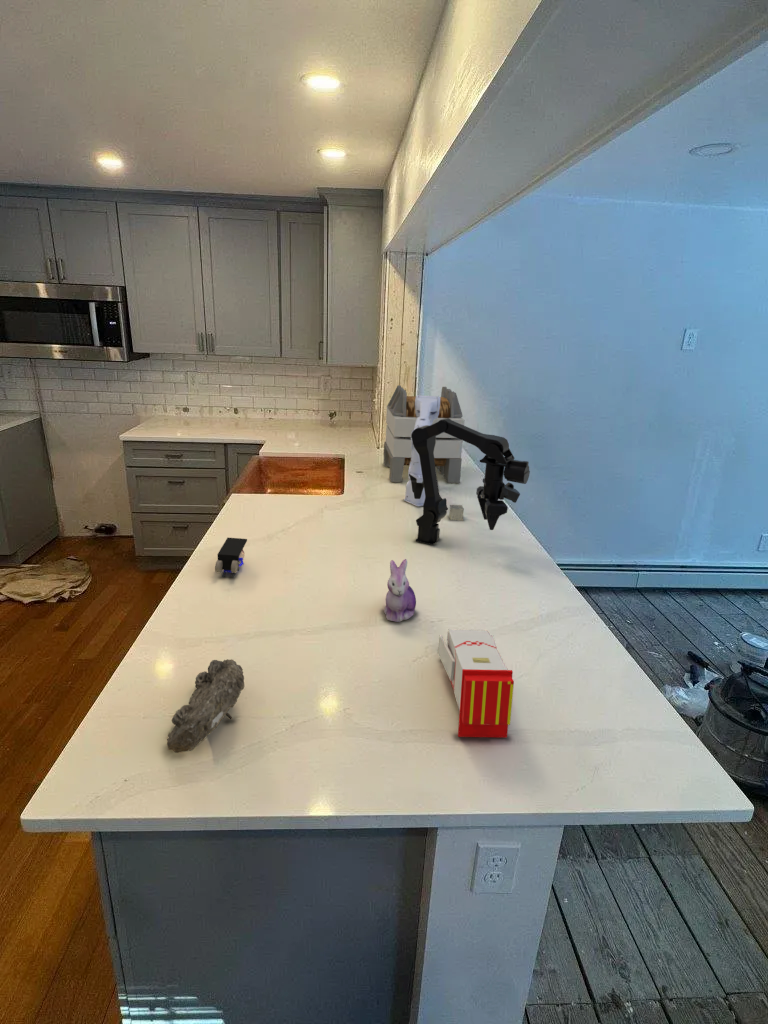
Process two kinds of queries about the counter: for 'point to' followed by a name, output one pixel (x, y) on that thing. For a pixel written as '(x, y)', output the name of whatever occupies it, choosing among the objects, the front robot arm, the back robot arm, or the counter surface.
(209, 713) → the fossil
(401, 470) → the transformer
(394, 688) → the counter surface
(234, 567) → the black wheeled box
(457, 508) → the block
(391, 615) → the figurine
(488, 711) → the toy
